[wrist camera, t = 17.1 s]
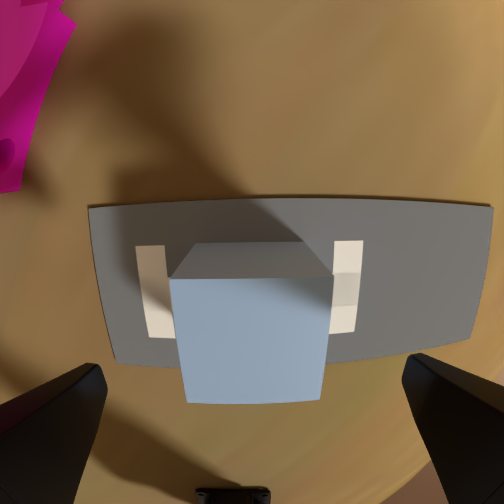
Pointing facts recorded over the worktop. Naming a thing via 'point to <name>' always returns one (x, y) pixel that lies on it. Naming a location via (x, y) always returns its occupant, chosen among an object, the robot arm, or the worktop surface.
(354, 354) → the letter mat
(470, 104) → the worktop surface
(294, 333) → the slate blue cube
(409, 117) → the worktop surface
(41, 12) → the toy block
